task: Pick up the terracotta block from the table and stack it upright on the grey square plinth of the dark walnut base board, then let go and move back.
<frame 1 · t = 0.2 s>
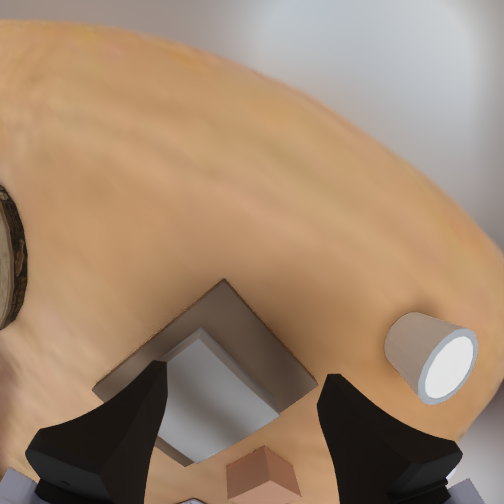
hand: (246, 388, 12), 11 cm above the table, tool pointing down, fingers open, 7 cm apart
terracotta block: (259, 466, 24), on the table
grey cup: (406, 338, 24), on the table
walnut base: (200, 388, 23), on the table
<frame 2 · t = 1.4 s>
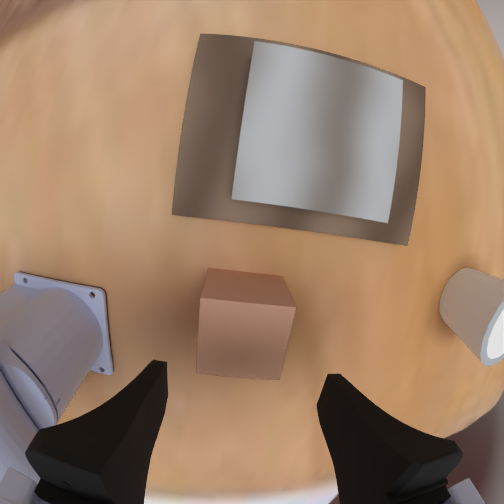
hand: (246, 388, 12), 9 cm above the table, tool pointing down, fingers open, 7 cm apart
terracotta block: (241, 305, 20), on the table
grey cup: (459, 295, 22), on the table
walnut base: (311, 136, 17), on the table
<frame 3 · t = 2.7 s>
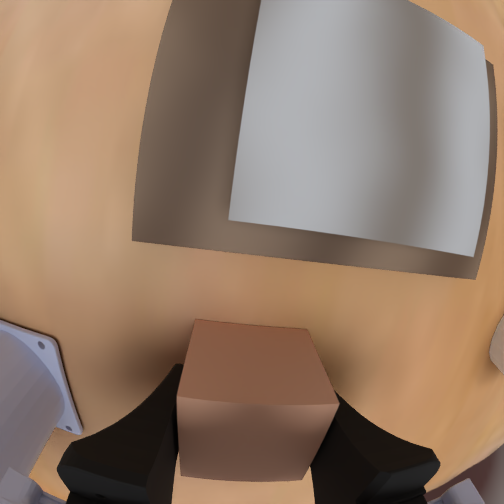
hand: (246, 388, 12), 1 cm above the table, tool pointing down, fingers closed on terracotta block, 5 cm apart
terracotta block: (245, 369, 13), on the table, touching gripper
walnut base: (355, 116, 10), on the table
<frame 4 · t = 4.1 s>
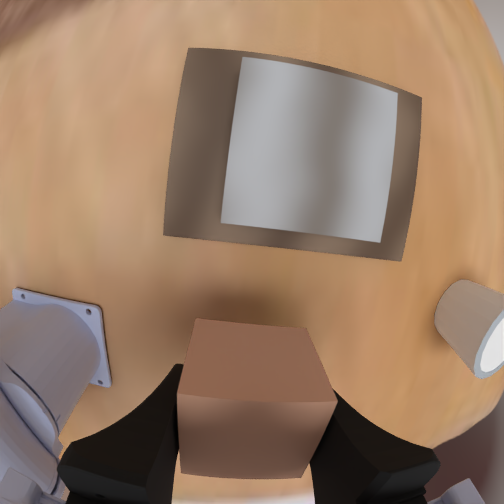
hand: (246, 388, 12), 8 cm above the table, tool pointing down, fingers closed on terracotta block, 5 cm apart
terracotta block: (245, 367, 13), point 7 cm above the table, touching gripper
grey cup: (454, 306, 22), on the table
walnut base: (302, 153, 18), on the table
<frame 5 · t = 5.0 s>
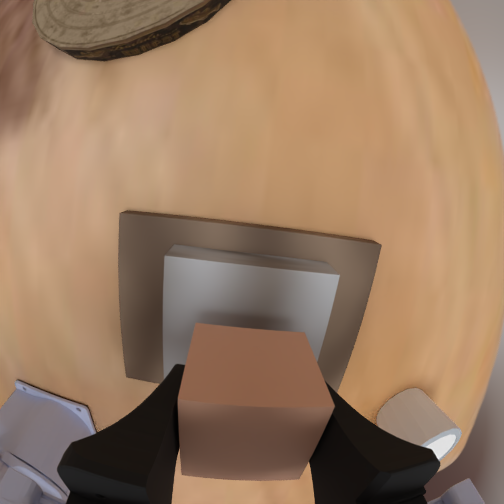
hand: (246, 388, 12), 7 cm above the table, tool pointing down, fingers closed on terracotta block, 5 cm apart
terracotta block: (244, 371, 13), point 6 cm above the table, touching gripper
grey cup: (400, 407, 23), on the table
walnut base: (242, 314, 19), on the table
when the fingers open (6 cm above the table, at t = 5.7 s): terracotta block drops 1 cm, resting on walnut base.
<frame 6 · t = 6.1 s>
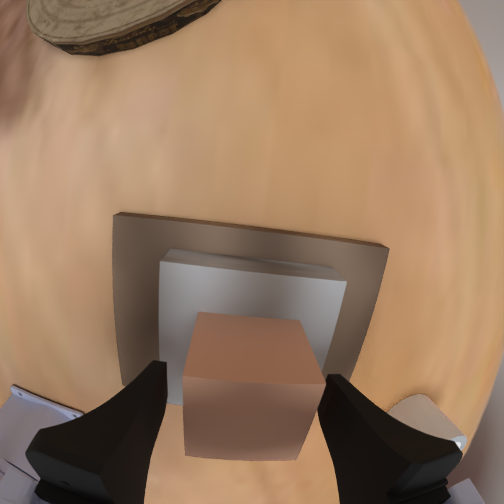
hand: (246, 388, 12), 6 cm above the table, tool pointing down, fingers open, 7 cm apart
terracotta block: (244, 357, 15), point 4 cm above the table, touching walnut base
grey cup: (404, 413, 22), on the table
walnut base: (242, 321, 18), on the table
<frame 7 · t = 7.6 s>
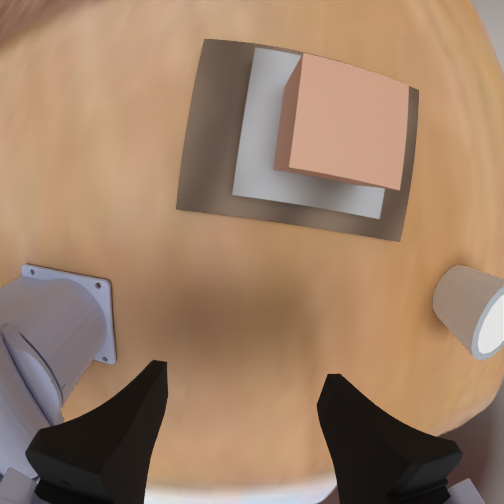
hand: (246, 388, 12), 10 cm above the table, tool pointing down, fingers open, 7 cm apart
terracotta block: (322, 134, 15), point 4 cm above the table, touching walnut base
grey cup: (452, 292, 23), on the table
walnut base: (307, 137, 19), on the table
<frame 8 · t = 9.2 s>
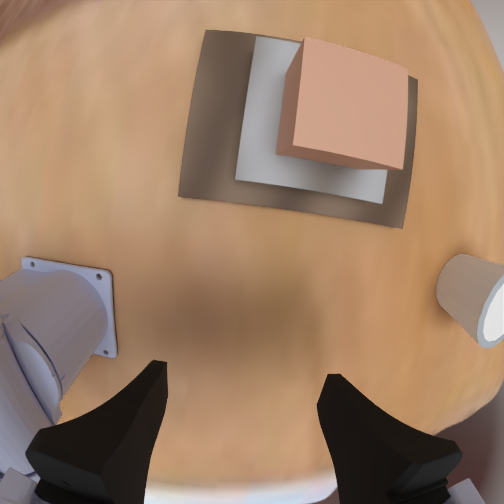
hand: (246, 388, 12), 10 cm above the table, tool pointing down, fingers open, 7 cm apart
terracotta block: (323, 120, 15), point 4 cm above the table, touching walnut base
grey cup: (455, 281, 23), on the table
walnut base: (309, 125, 18), on the table
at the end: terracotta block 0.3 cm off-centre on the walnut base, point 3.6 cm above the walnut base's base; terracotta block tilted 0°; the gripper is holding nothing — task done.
